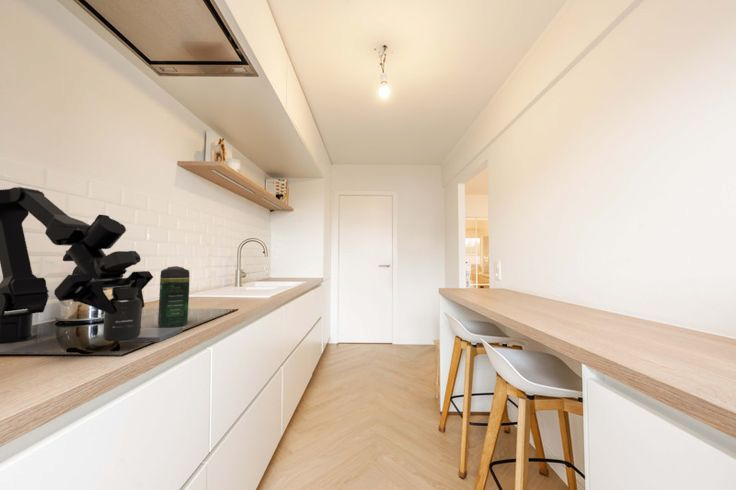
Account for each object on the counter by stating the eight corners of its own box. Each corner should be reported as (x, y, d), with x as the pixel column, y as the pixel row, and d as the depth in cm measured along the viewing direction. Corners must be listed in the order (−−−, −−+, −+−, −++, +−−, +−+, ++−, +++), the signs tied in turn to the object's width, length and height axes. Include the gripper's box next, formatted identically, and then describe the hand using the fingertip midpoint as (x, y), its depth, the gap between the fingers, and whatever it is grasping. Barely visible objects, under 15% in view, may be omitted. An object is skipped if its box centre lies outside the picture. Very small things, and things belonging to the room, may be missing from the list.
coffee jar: (189, 325, 91) (191, 266, 91) (158, 329, 86) (160, 266, 87) (186, 320, 98) (188, 265, 99) (157, 323, 94) (160, 265, 94)
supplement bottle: (118, 343, 65) (121, 289, 65) (94, 340, 66) (97, 288, 67) (147, 335, 71) (150, 286, 72) (125, 333, 73) (127, 285, 73)
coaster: (146, 332, 83) (146, 327, 83) (182, 331, 83) (182, 327, 83) (118, 342, 73) (118, 337, 73) (159, 342, 73) (159, 337, 73)
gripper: (68, 236, 61) (108, 291, 59) (149, 241, 80) (182, 283, 77) (36, 272, 62) (75, 328, 60) (123, 269, 81) (155, 311, 78)
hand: (128, 309), depth 69 cm, fingers closed on supplement bottle, 7 cm apart
